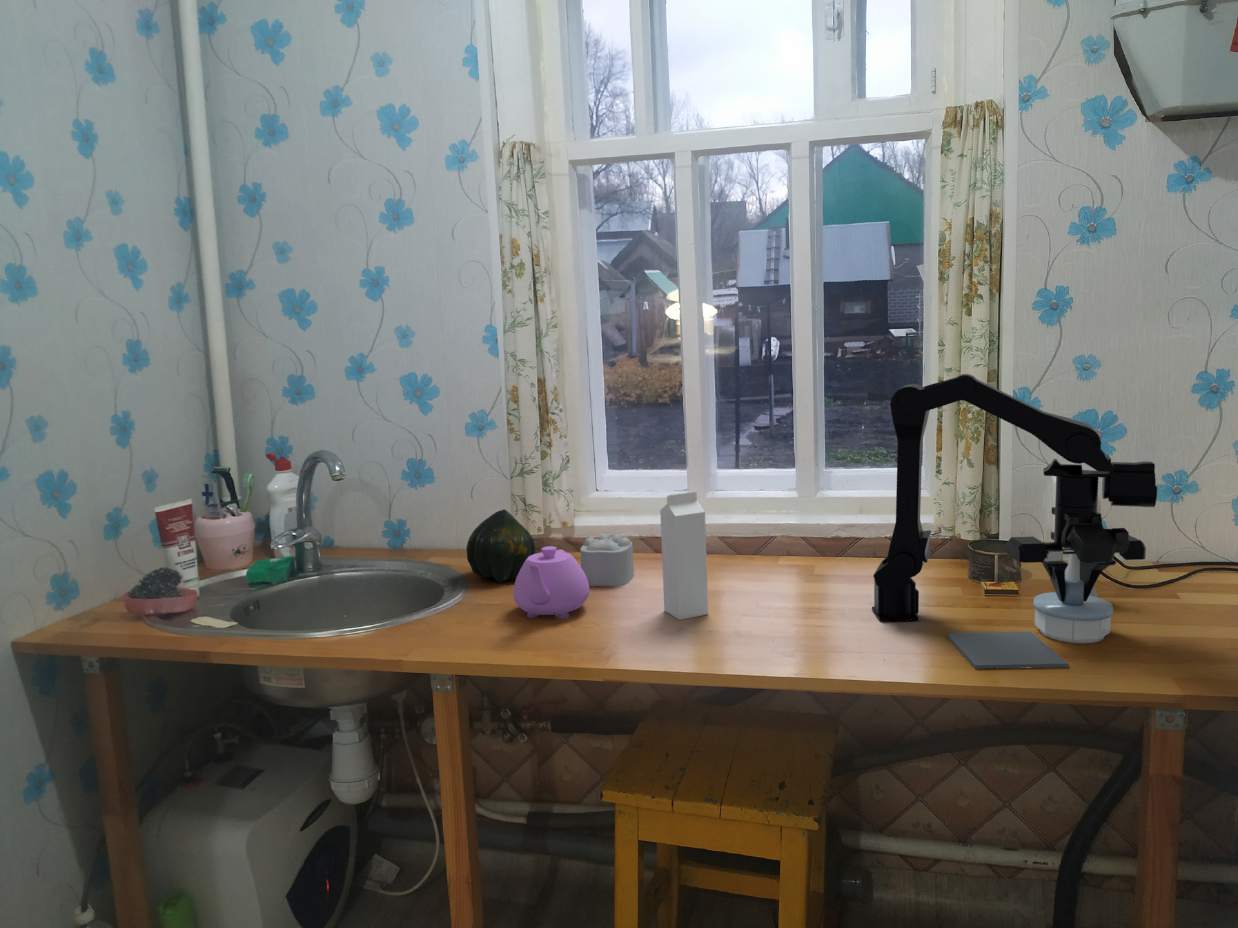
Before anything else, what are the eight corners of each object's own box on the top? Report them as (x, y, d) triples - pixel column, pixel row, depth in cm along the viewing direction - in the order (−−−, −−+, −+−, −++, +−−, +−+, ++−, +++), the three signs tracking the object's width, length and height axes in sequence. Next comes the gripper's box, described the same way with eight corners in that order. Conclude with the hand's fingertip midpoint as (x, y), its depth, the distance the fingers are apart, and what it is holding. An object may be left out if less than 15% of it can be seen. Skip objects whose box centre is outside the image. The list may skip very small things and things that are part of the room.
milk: (708, 614, 149) (705, 494, 145) (678, 620, 146) (674, 498, 143) (692, 605, 154) (689, 488, 151) (663, 610, 152) (659, 492, 148)
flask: (1106, 607, 142) (1108, 550, 141) (1060, 606, 144) (1062, 550, 142) (1091, 594, 149) (1093, 540, 148) (1047, 593, 151) (1049, 540, 149)
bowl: (1053, 644, 127) (1054, 620, 127) (1026, 623, 137) (1027, 599, 136) (1119, 643, 126) (1120, 618, 126) (1088, 621, 136) (1089, 598, 135)
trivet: (975, 669, 120) (975, 665, 120) (946, 636, 133) (946, 633, 132) (1068, 667, 119) (1068, 663, 119) (1030, 634, 132) (1030, 631, 131)
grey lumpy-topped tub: (577, 585, 170) (575, 544, 169) (593, 568, 182) (590, 529, 181) (626, 586, 168) (624, 545, 166) (639, 568, 180) (637, 529, 179)
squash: (468, 567, 167) (509, 505, 171) (444, 555, 180) (483, 498, 184) (520, 602, 173) (559, 542, 177) (494, 588, 186) (531, 532, 190)
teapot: (573, 632, 143) (569, 564, 141) (495, 629, 146) (491, 563, 144) (601, 596, 162) (598, 535, 160) (532, 594, 165) (528, 535, 163)
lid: (1051, 621, 126) (1052, 593, 125) (1022, 598, 137) (1022, 572, 136) (1127, 619, 125) (1128, 591, 124) (1091, 597, 136) (1092, 570, 135)
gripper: (1036, 517, 121) (1033, 619, 124) (1169, 513, 120) (1163, 616, 122) (1006, 502, 132) (1004, 596, 135) (1128, 498, 131) (1123, 593, 133)
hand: (1072, 600), depth 131 cm, fingers closed on lid, 3 cm apart
